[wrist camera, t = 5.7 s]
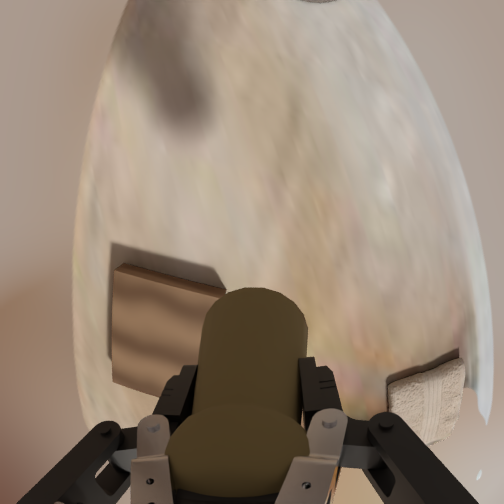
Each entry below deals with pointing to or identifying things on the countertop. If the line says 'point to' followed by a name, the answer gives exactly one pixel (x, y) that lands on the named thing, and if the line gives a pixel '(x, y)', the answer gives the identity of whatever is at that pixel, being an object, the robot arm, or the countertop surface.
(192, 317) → the walnut board
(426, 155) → the countertop surface
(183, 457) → the cork
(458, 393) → the washcloth
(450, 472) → the robot arm
